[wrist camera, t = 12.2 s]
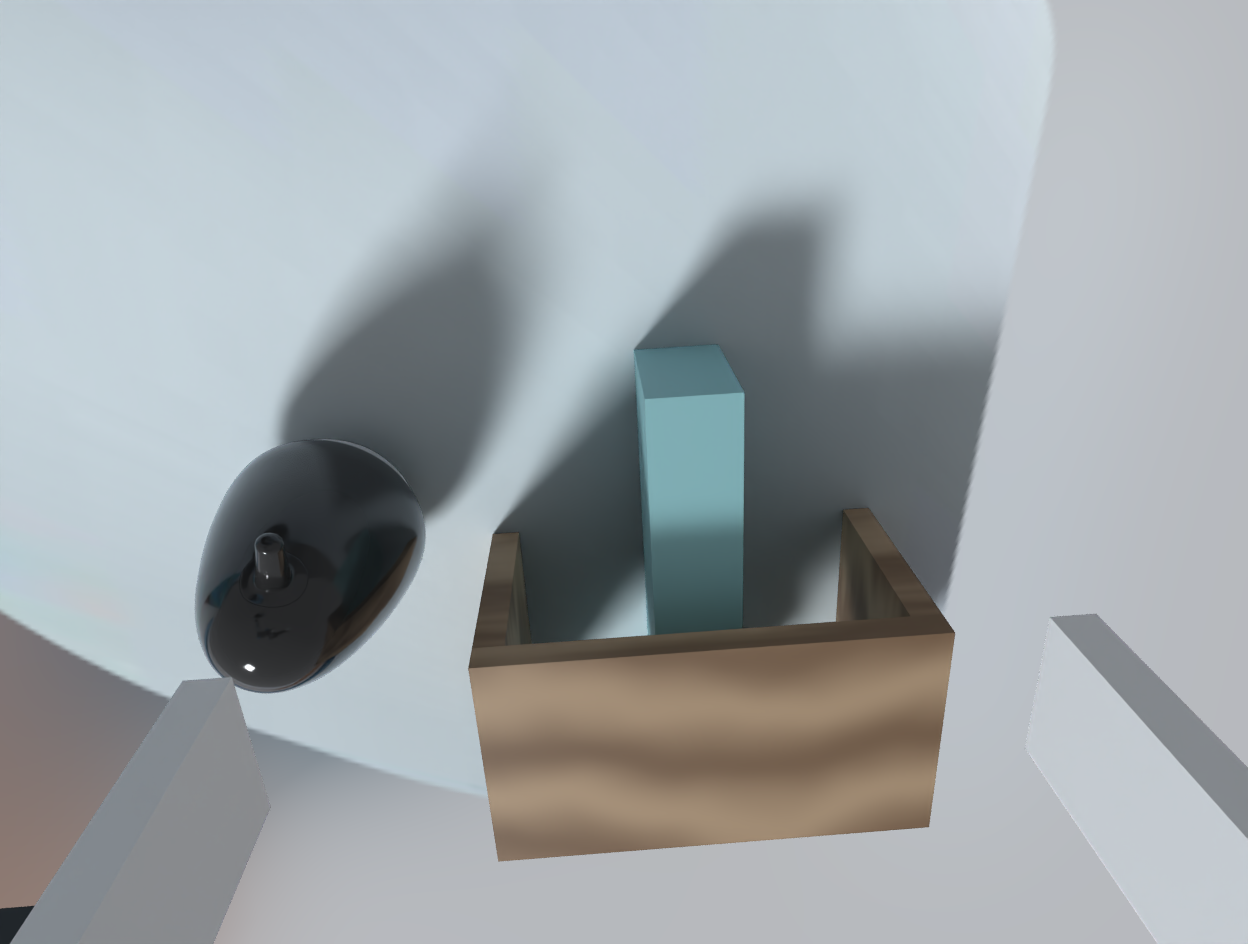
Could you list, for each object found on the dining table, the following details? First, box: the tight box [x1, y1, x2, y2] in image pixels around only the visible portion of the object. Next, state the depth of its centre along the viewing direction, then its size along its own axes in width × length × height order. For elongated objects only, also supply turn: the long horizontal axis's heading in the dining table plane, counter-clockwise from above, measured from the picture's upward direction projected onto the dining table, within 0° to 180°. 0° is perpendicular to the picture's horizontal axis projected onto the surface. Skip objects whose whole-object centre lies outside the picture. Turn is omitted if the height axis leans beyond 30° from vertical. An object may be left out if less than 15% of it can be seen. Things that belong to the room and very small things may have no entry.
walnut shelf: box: [468, 508, 955, 861], centre depth 46 cm, size 12×22×12 cm, turn 93°
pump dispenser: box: [195, 439, 426, 693], centre depth 41 cm, size 10×10×15 cm
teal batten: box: [634, 344, 744, 635], centre depth 47 cm, size 23×4×8 cm, turn 3°
